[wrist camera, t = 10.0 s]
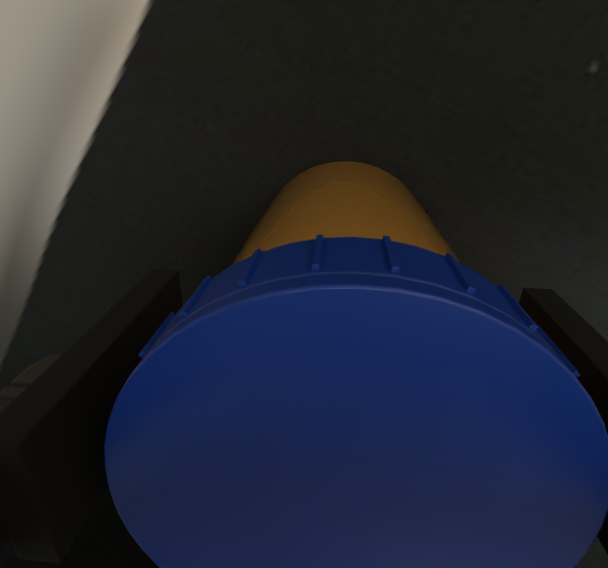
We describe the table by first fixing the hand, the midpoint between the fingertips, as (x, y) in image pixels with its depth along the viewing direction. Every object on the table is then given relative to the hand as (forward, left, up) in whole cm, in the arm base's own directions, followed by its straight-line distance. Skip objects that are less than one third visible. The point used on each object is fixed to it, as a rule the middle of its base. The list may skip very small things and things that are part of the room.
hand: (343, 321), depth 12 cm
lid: (0, 0, +6) cm, 6 cm away
